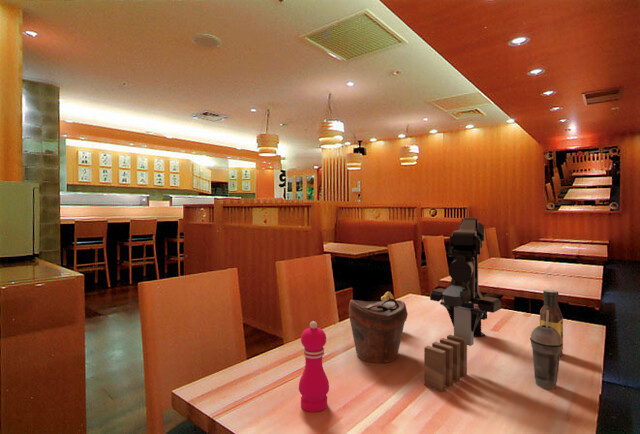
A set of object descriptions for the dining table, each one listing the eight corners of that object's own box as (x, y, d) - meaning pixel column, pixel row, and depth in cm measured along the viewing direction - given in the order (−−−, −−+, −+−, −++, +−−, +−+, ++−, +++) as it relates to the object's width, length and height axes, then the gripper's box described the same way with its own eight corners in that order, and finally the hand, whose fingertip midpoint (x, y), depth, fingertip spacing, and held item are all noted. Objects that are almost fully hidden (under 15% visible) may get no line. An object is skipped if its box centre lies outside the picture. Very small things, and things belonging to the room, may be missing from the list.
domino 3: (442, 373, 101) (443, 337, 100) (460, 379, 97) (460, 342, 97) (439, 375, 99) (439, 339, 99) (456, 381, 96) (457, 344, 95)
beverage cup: (557, 380, 96) (558, 306, 95) (566, 394, 89) (567, 314, 88) (526, 376, 98) (527, 304, 98) (533, 389, 91) (533, 311, 91)
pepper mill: (298, 397, 88) (297, 317, 88) (327, 396, 89) (327, 316, 88) (299, 414, 81) (298, 327, 80) (330, 412, 82) (330, 325, 81)
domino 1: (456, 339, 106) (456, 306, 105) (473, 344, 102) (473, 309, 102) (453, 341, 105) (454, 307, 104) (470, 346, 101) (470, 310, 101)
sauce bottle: (566, 358, 110) (567, 293, 109) (544, 356, 111) (545, 293, 111) (557, 349, 116) (558, 289, 116) (536, 348, 118) (536, 288, 117)
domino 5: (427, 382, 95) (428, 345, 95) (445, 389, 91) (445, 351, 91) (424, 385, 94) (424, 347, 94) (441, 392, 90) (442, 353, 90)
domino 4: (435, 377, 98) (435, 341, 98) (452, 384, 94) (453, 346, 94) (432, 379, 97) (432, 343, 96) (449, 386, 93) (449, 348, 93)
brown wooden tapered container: (419, 352, 115) (418, 296, 114) (385, 374, 100) (384, 310, 100) (373, 339, 127) (372, 289, 126) (336, 357, 112) (335, 300, 112)
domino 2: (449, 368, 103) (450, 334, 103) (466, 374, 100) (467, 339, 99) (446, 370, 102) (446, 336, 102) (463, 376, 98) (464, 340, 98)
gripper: (419, 274, 104) (419, 327, 105) (485, 284, 90) (484, 345, 91) (439, 269, 112) (439, 319, 112) (502, 278, 98) (501, 334, 98)
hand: (463, 328), depth 103 cm, fingers closed on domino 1, 5 cm apart
